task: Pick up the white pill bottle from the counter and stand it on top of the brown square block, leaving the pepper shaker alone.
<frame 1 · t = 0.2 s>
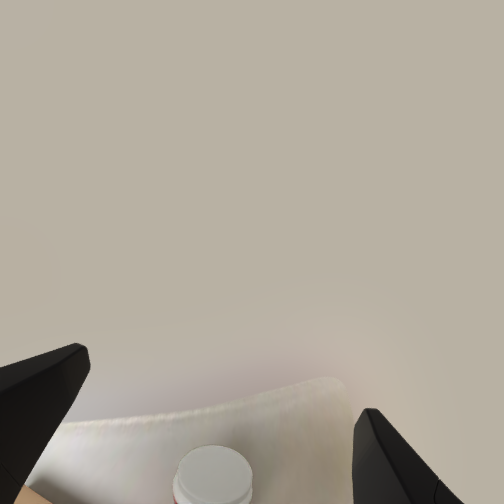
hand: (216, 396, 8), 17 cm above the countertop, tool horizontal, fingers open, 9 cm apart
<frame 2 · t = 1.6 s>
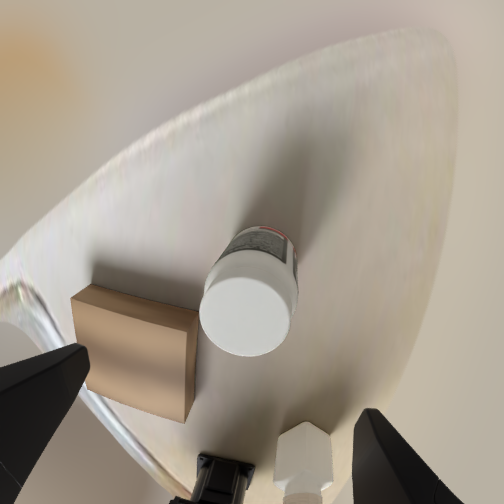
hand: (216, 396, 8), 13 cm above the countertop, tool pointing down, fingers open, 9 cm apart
pepper shaker: (304, 433, 25), on the countertop
brown square block: (141, 347, 24), on the countertop
pill bottle: (262, 258, 21), on the countertop
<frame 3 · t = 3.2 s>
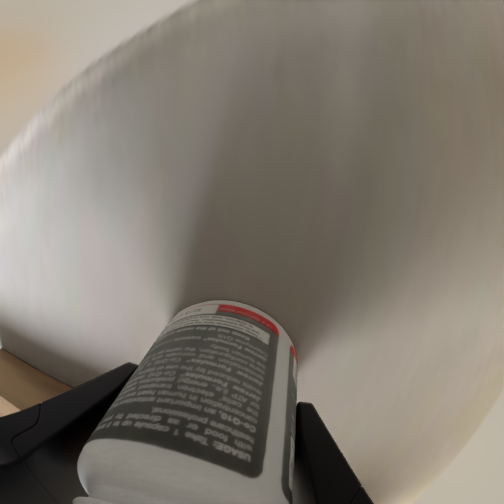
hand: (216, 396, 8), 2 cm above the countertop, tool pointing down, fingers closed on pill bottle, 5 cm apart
brown square block: (76, 433, 14), on the countertop
pill bottle: (230, 353, 10), on the countertop, touching gripper
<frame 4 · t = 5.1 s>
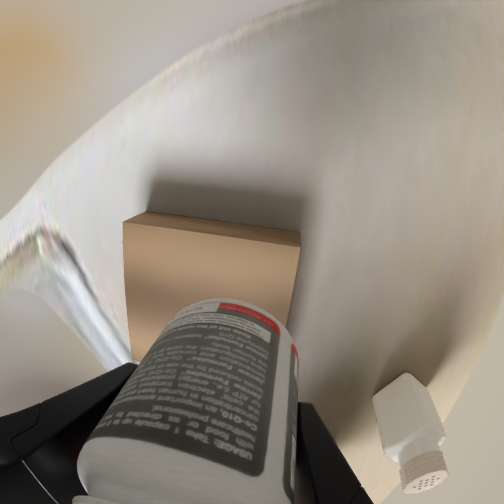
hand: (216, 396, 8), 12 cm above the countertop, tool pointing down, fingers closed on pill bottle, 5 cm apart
pepper shaker: (398, 390, 21), on the countertop
brown square block: (212, 293, 20), on the countertop
pill bottle: (231, 352, 10), point 9 cm above the countertop, touching gripper
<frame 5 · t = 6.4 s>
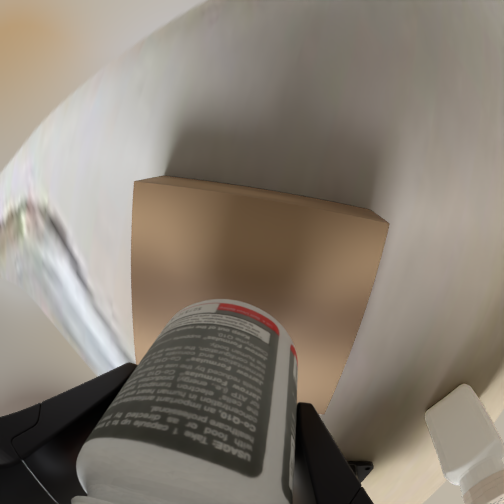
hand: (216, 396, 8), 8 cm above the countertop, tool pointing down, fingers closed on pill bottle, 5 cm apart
pepper shaker: (451, 403, 16), on the countertop
brown square block: (249, 288, 15), on the countertop
pill bottle: (230, 352, 10), point 5 cm above the countertop, touching gripper
when the fingers open (6 cm above the countertop, at t = 7.2 s): pill bottle stays where it is, resting on brown square block.
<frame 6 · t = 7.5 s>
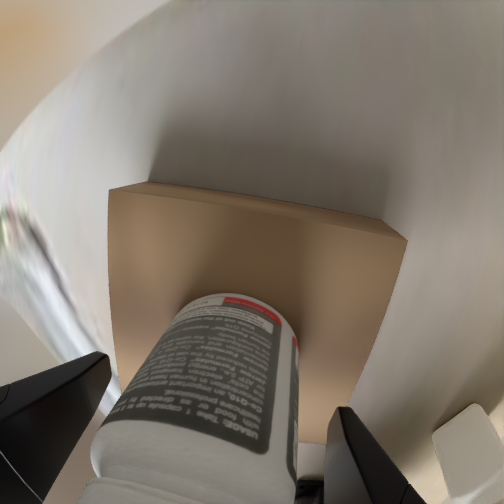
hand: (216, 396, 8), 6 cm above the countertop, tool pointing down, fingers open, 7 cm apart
pepper shaker: (459, 423, 15), on the countertop
brown square block: (244, 309, 14), on the countertop
pill bottle: (234, 345, 11), point 3 cm above the countertop, touching brown square block
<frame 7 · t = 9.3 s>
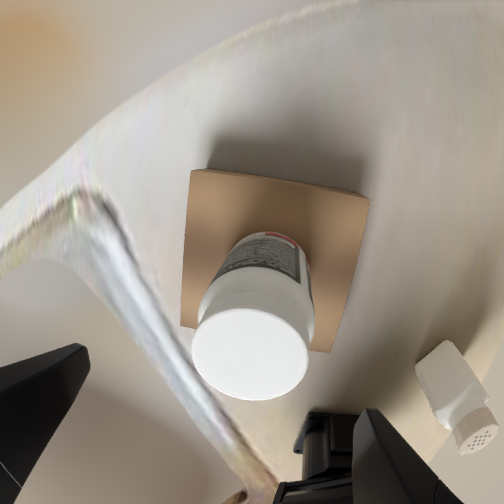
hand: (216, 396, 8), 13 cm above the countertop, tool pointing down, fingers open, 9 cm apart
pepper shaker: (437, 360, 21), on the countertop
brown square block: (270, 253, 20), on the countertop
pill bottle: (268, 269, 18), point 3 cm above the countertop, touching brown square block
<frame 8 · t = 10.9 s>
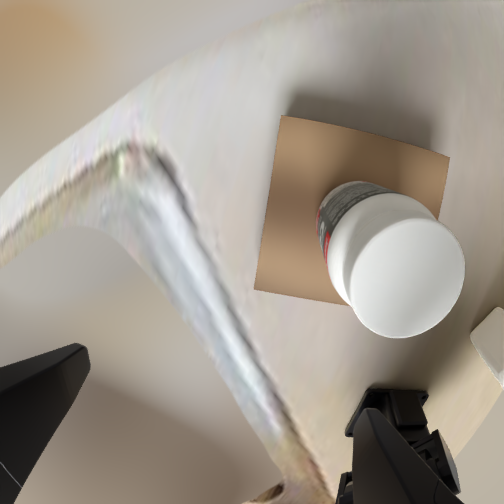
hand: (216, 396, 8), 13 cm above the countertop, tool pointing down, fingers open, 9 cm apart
pepper shaker: (487, 329, 20), on the countertop
brown square block: (347, 213, 19), on the countertop
pill bottle: (356, 222, 16), point 3 cm above the countertop, touching brown square block
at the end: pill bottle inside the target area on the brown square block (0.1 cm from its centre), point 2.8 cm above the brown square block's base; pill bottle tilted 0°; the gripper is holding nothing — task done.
